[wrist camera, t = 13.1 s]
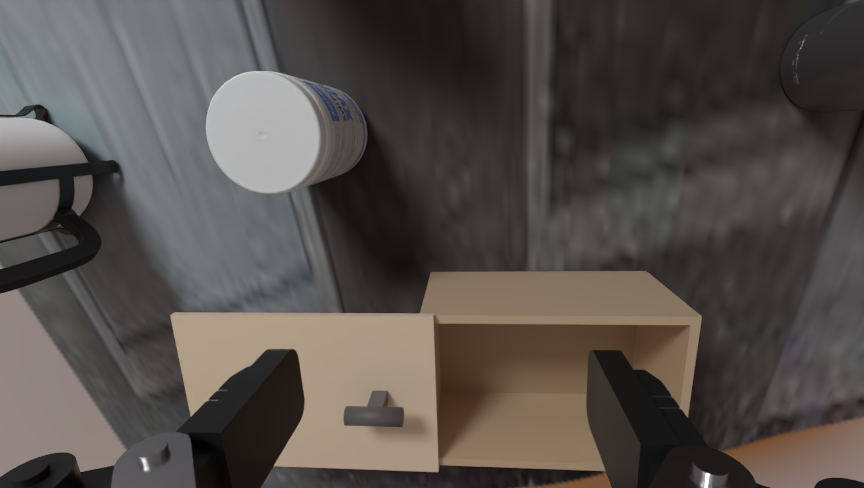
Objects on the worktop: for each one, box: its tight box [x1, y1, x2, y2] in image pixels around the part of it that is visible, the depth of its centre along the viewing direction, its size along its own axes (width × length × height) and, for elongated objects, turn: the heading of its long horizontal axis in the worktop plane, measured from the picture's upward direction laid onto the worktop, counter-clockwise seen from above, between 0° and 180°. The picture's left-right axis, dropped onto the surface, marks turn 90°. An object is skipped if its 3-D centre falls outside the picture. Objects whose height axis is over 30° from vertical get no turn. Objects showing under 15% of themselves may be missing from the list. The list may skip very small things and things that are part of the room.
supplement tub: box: [206, 71, 367, 194], centre depth 40 cm, size 10×10×15 cm
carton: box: [420, 271, 702, 471], centre depth 46 cm, size 24×16×12 cm, turn 92°
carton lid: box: [170, 312, 439, 472], centre depth 40 cm, size 24×16×4 cm
